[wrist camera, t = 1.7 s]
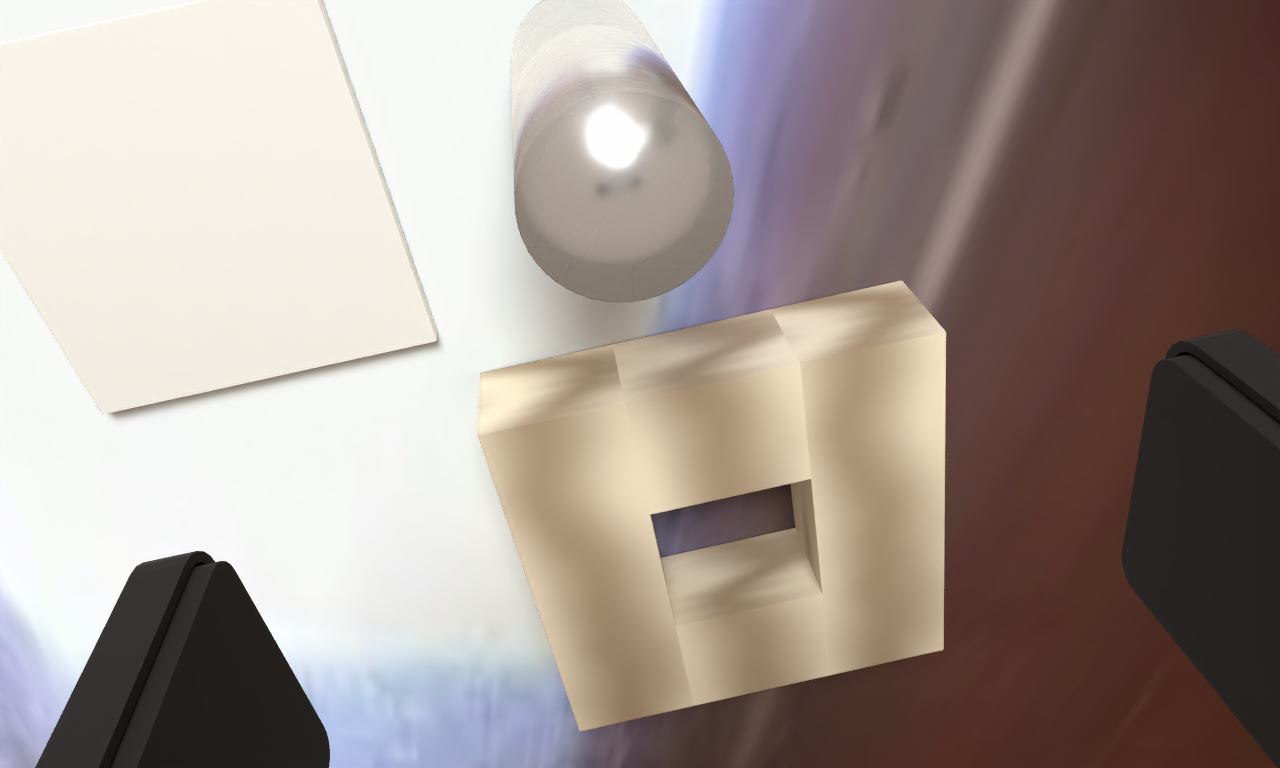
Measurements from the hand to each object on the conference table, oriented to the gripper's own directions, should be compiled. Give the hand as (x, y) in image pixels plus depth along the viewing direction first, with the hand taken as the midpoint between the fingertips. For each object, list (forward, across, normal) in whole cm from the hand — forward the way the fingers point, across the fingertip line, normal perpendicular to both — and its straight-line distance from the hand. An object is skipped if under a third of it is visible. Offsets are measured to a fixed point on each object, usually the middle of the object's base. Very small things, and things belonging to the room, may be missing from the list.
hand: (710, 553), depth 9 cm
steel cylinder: (+22, 0, 0) cm, 22 cm away
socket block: (+22, -2, +18) cm, 29 cm away
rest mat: (+22, +13, +2) cm, 26 cm away
